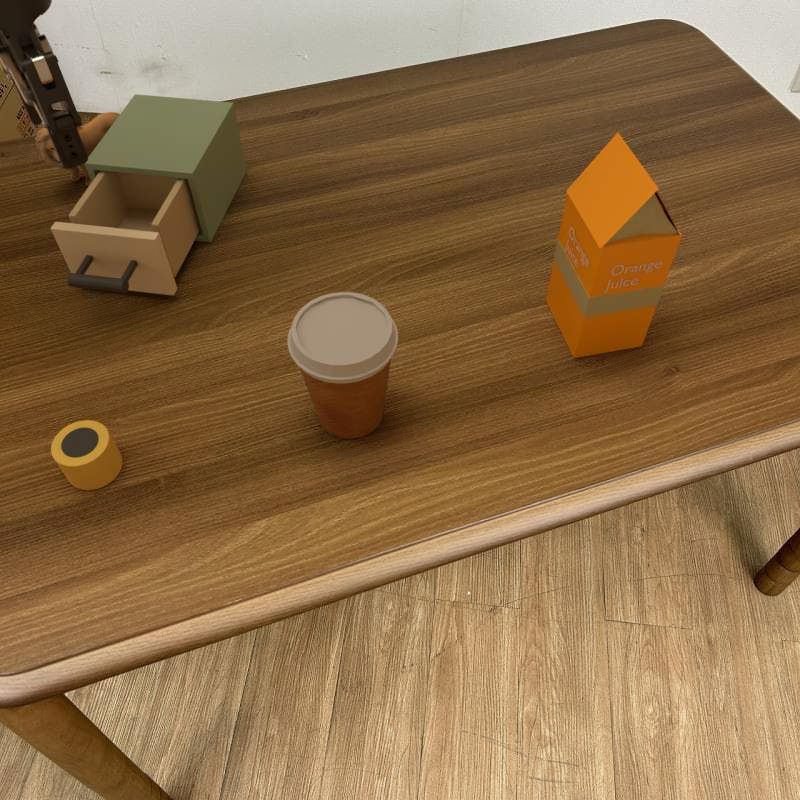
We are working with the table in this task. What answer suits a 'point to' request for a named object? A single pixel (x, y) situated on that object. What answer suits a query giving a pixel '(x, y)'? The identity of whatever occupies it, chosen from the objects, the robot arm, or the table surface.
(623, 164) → the orange juice
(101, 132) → the lion figurine
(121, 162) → the cabinet
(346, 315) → the disposable coffee cup
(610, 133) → the table surface
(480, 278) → the table surface
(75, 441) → the tape
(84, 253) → the drawer
